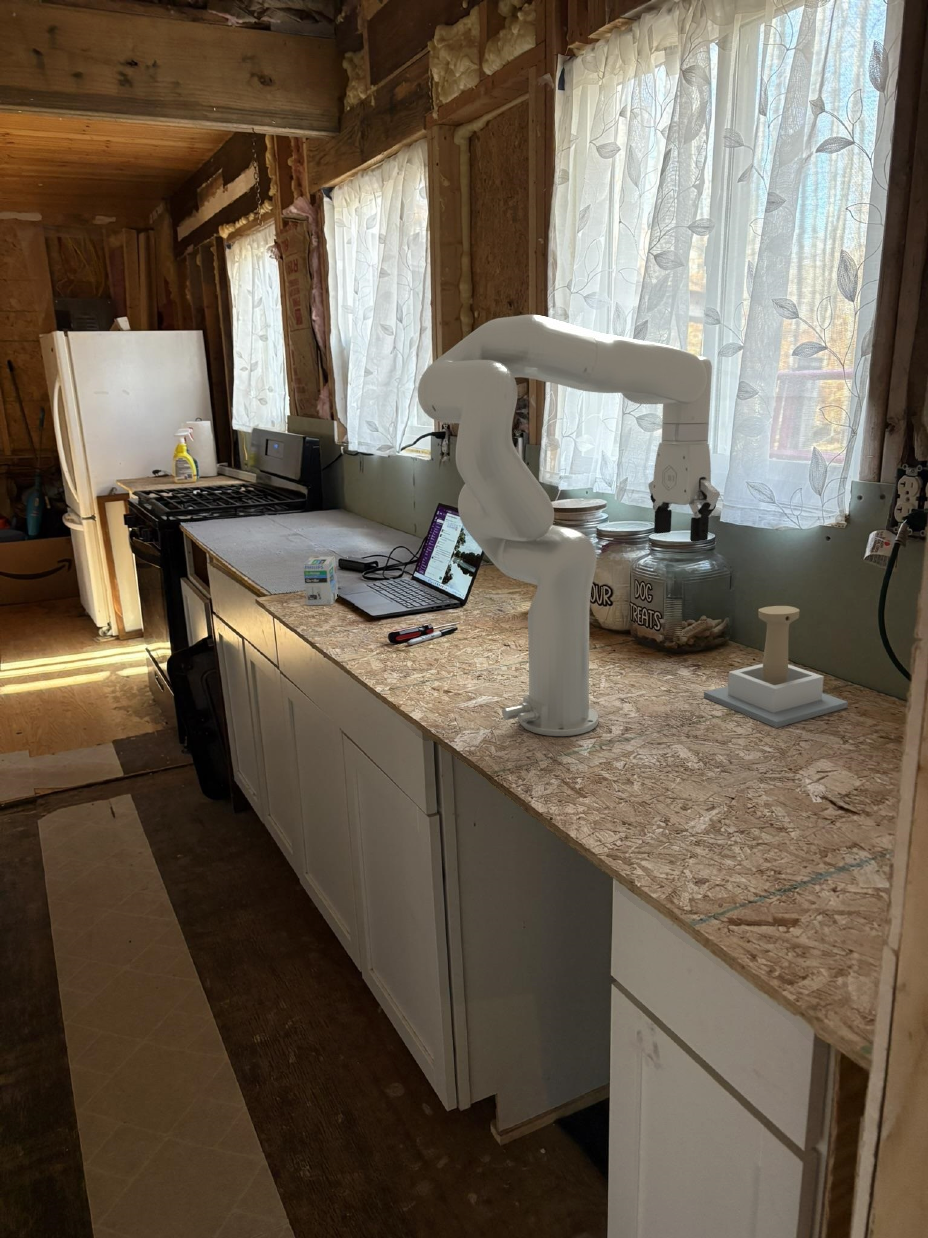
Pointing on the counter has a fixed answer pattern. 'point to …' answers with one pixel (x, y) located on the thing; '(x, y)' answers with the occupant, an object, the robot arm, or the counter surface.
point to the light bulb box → (320, 580)
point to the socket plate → (776, 696)
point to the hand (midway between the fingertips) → (680, 536)
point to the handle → (776, 642)
